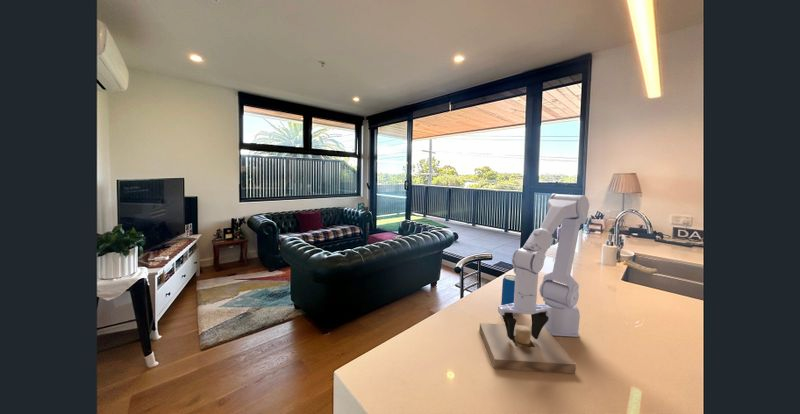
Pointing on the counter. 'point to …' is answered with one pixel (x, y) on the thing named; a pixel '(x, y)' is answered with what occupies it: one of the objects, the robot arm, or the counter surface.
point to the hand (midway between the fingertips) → (522, 337)
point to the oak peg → (522, 336)
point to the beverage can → (508, 289)
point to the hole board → (525, 351)
